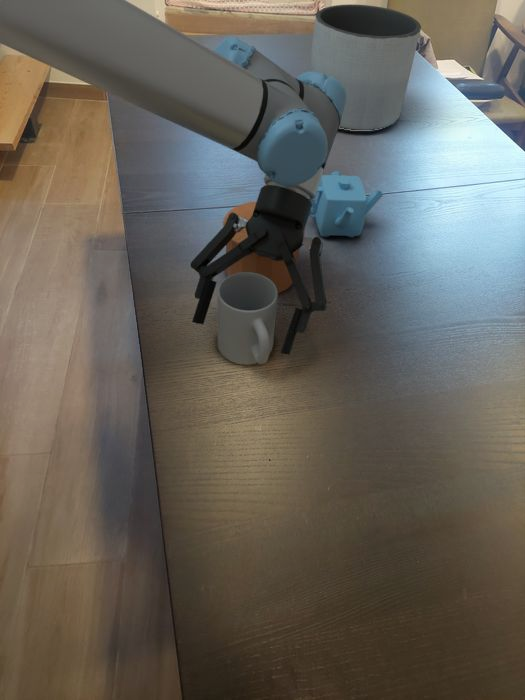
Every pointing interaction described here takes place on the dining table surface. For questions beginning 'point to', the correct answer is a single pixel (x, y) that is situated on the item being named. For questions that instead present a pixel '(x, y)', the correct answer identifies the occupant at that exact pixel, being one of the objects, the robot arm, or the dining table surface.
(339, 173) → the teapot
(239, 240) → the pot lid
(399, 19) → the planter
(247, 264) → the pot
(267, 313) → the mug
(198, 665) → the dining table surface
